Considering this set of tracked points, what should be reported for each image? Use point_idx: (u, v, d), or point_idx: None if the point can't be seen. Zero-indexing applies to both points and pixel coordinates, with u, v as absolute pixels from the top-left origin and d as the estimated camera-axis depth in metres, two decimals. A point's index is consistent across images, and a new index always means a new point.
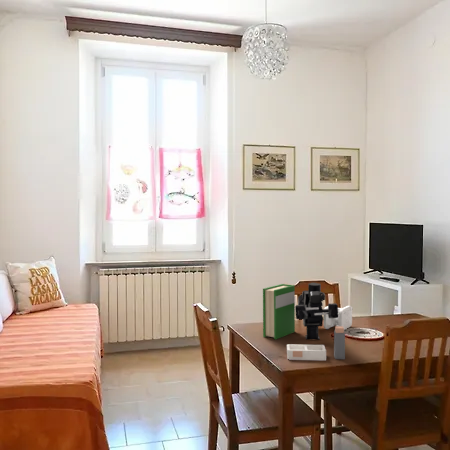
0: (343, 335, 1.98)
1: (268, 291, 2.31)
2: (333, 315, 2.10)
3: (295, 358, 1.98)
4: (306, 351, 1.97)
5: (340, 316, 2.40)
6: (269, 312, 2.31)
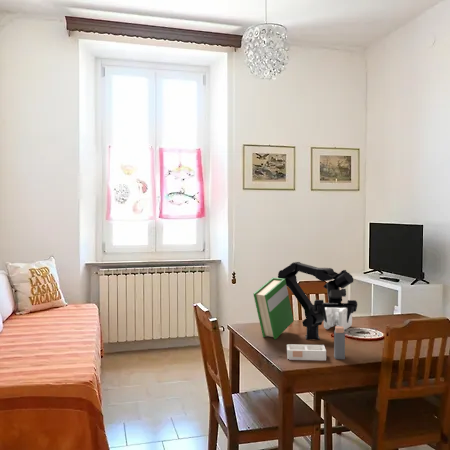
0: (343, 335, 1.98)
1: (259, 295, 2.25)
2: (351, 311, 2.12)
3: (295, 358, 1.98)
4: (306, 351, 1.97)
5: (340, 316, 2.40)
6: (264, 314, 2.28)
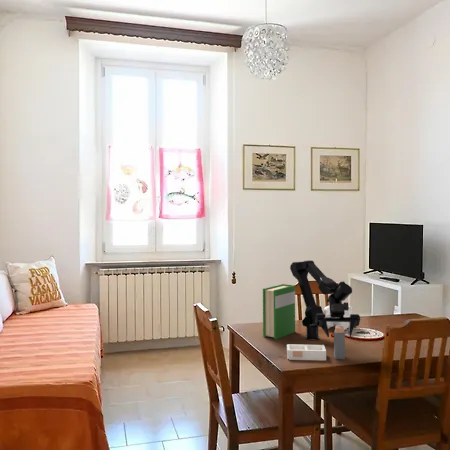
0: (343, 335, 1.98)
1: (268, 291, 2.31)
2: (354, 326, 2.06)
3: (295, 358, 1.98)
4: (306, 351, 1.97)
5: None
6: (269, 312, 2.31)
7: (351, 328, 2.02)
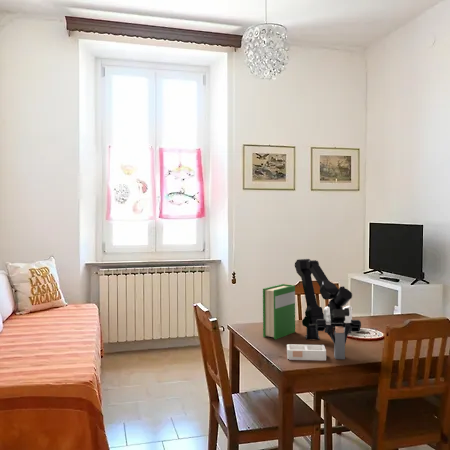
0: (343, 335, 1.98)
1: (268, 291, 2.31)
2: (349, 331, 2.04)
3: (295, 358, 1.98)
4: (306, 351, 1.97)
5: None
6: (269, 312, 2.31)
7: (346, 334, 2.00)
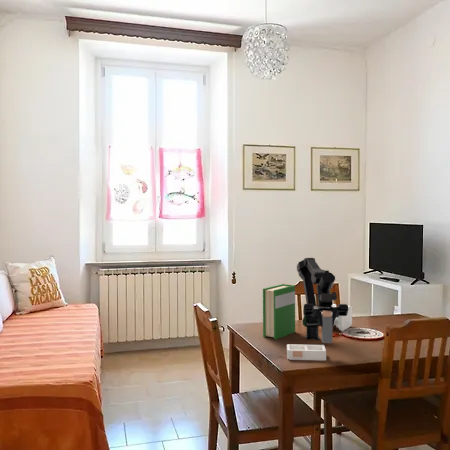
0: (331, 319, 1.98)
1: (268, 291, 2.31)
2: (336, 316, 2.04)
3: (295, 358, 1.98)
4: (306, 351, 1.97)
5: (340, 316, 2.40)
6: (269, 312, 2.31)
7: (333, 318, 2.00)
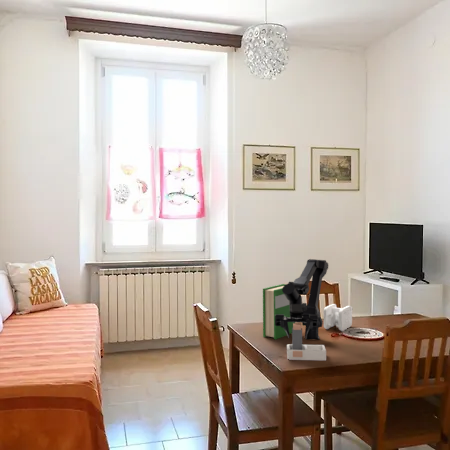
0: (300, 332, 2.00)
1: (268, 291, 2.31)
2: (310, 326, 2.05)
3: (295, 358, 1.98)
4: (306, 351, 1.97)
5: (340, 316, 2.40)
6: (269, 312, 2.31)
7: (306, 329, 2.02)
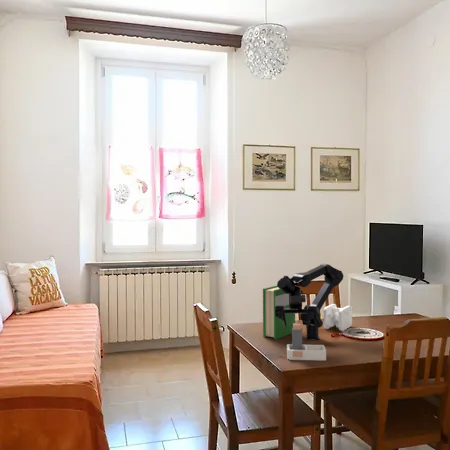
0: (300, 332, 2.00)
1: (268, 291, 2.31)
2: (311, 317, 2.14)
3: (295, 358, 1.98)
4: (306, 351, 1.97)
5: (340, 316, 2.40)
6: (269, 312, 2.31)
7: (308, 319, 2.10)
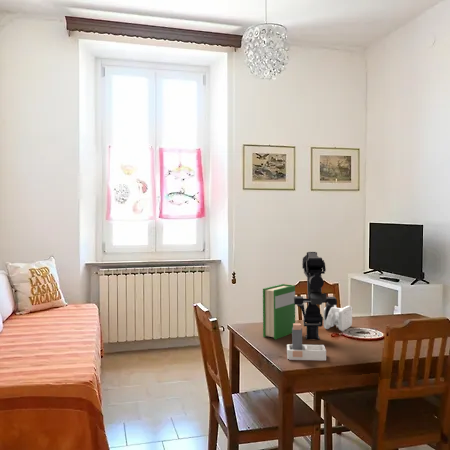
0: (300, 332, 2.00)
1: (268, 291, 2.31)
2: None
3: (295, 358, 1.98)
4: (306, 351, 1.97)
5: (340, 316, 2.40)
6: (269, 312, 2.31)
7: (327, 312, 2.12)
